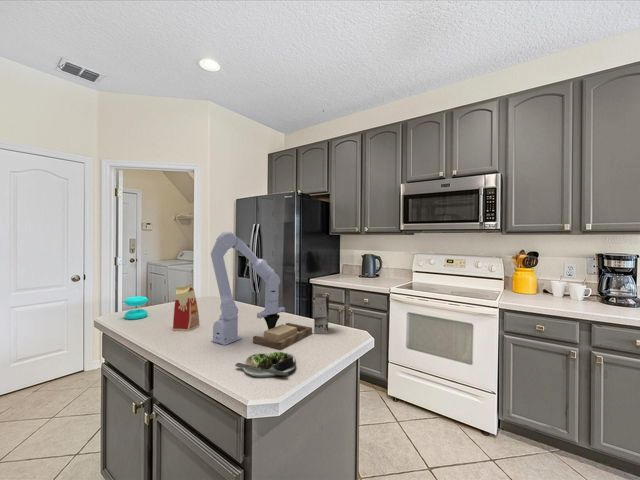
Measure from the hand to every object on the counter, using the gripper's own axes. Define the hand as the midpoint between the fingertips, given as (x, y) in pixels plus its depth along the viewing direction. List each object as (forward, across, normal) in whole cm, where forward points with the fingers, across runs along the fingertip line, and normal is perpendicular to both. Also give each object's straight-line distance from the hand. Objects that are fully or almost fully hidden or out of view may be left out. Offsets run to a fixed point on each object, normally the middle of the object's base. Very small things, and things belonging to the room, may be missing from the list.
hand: (271, 331), depth 129 cm
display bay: (+1, -1, +6) cm, 6 cm away
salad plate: (+2, +21, +23) cm, 31 cm away
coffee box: (+2, -19, +13) cm, 23 cm away
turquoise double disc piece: (+2, +27, -71) cm, 76 cm away
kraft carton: (+2, 0, +6) cm, 6 cm away
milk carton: (+2, +19, -37) cm, 41 cm away
